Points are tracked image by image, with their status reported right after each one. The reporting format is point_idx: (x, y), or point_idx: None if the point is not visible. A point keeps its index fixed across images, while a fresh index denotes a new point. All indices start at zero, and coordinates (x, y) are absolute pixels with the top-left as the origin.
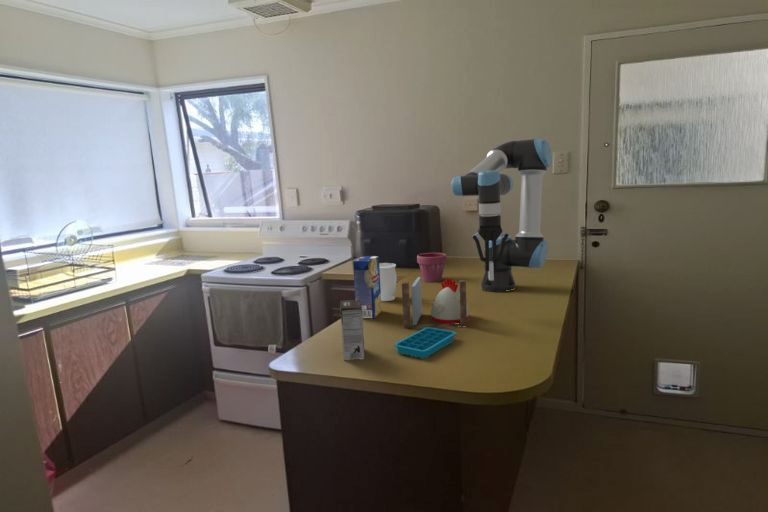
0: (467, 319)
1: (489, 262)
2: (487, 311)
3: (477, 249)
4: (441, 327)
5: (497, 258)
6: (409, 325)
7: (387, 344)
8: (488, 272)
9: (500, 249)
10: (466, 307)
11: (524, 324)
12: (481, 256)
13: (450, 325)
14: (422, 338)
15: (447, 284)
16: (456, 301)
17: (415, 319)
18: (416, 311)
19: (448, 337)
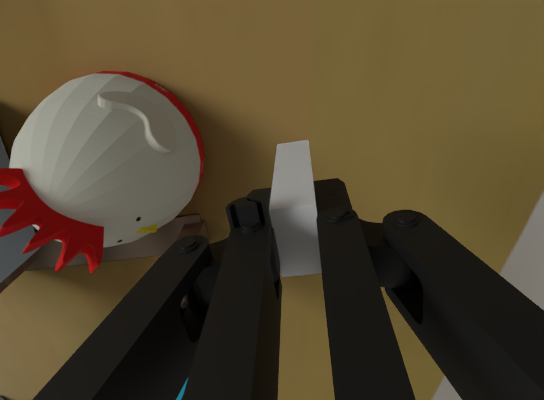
0: (200, 179)
1: (284, 261)
2: (273, 27)
3: (86, 343)
4: (130, 258)
5: (378, 279)
6: (25, 268)
7: (40, 371)
8: (275, 162)
9: (460, 392)
10: (183, 184)
11: (413, 206)
12: (189, 334)
13: (153, 239)
14: None
15: (28, 222)
16: (134, 237)
17: (25, 258)
18: (3, 259)
19: (183, 391)
